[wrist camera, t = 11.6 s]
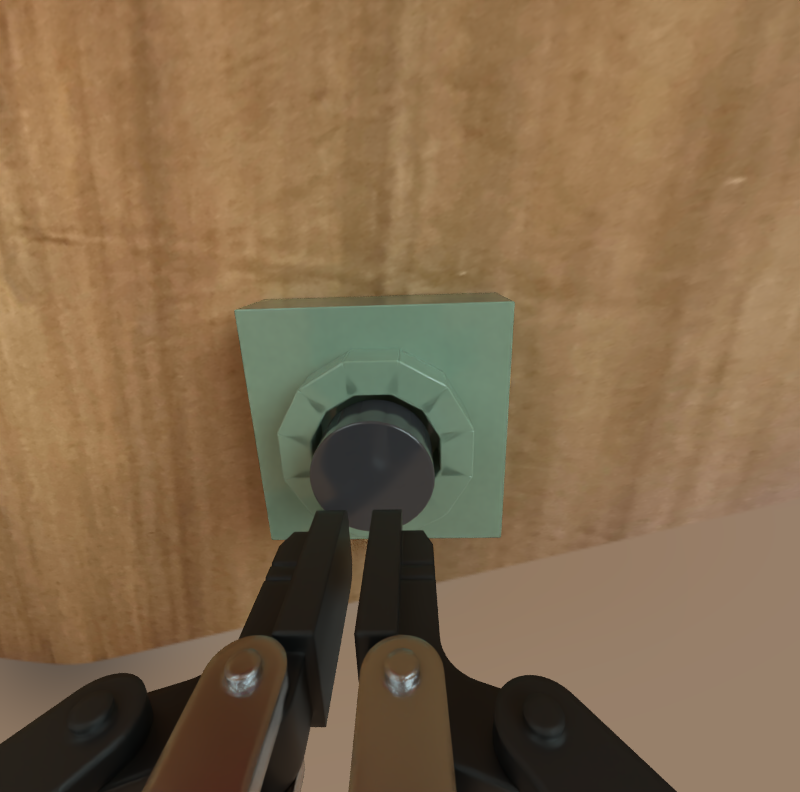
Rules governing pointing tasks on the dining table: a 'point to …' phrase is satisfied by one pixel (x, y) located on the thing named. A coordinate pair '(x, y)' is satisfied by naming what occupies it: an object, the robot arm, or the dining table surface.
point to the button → (373, 462)
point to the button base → (383, 395)
